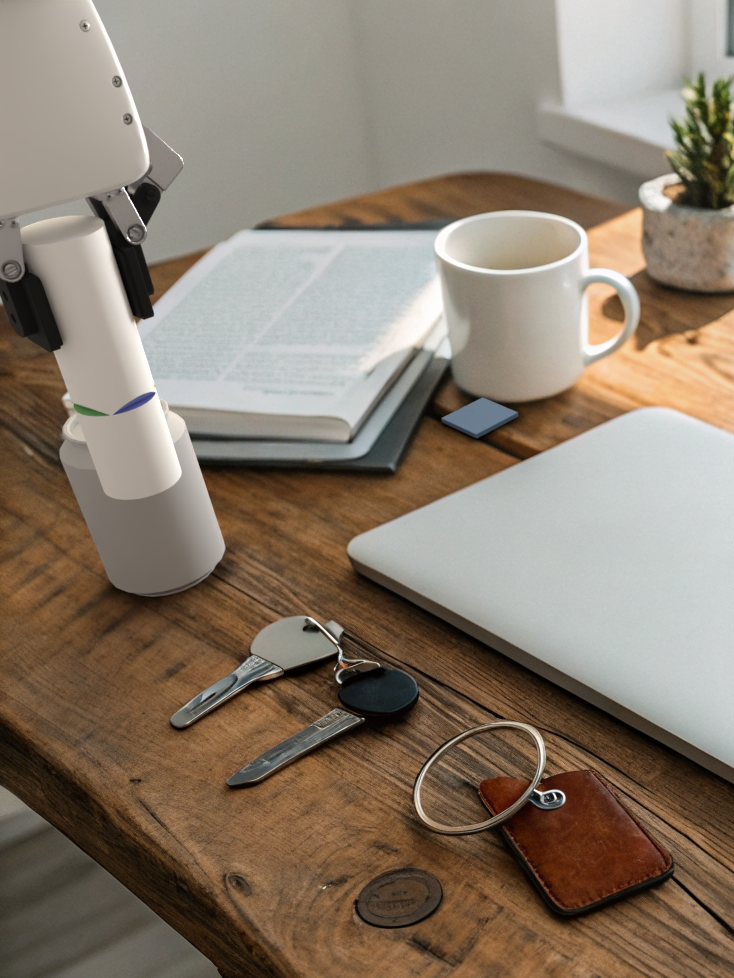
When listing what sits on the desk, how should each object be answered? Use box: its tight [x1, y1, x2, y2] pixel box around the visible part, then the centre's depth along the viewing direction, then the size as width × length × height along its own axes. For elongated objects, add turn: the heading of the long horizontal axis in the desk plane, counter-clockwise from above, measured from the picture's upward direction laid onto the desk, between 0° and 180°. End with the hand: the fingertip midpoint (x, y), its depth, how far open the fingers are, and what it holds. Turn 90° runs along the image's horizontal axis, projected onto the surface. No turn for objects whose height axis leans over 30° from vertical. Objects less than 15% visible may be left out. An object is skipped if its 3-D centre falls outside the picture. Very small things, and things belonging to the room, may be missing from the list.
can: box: [59, 397, 226, 598], centre depth 76 cm, size 8×8×12 cm
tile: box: [440, 397, 519, 439], centre depth 94 cm, size 4×4×1 cm
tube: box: [20, 214, 182, 500], centre depth 64 cm, size 4×4×15 cm
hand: (90, 324), depth 62 cm, fingers closed on tube, 4 cm apart
